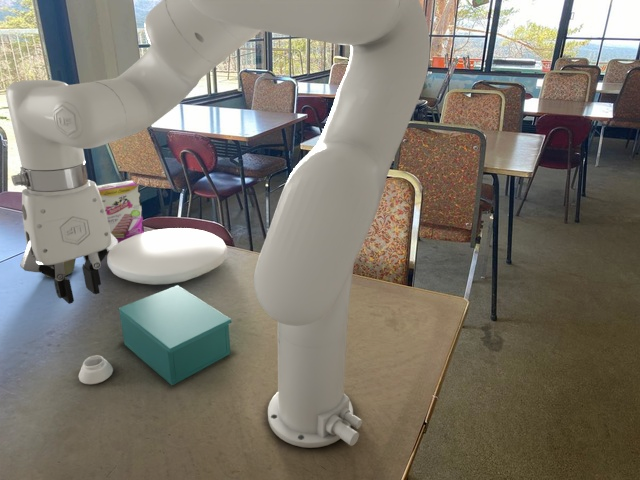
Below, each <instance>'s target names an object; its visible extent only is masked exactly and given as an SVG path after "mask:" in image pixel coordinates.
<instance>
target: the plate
mask: <svg viewBox="0 0 640 480" xmlns="http://www.w3.org/2000/svg"><path fill="white" fill-rule="evenodd" d="M227 255H228V247H227V244H226V243H225V241H224V240H223V239H222V238H221V237H219V236H218V235H215V234H214V233H212V232H208V231H205V230H201V229H197V228H196V229H195V228H187V227H186V228H185V227H184V228H182V227H180V228H179V227H177V228H176V227H175V228H173V227H172V228H162V229H161V228H160V229H155V230H149V231H144V233H141V234H137V235H134V236H132V237H130V238H127V239H125V240H123V241H121V242H119V243H118V244H117V245H115V246H114V247H113V248H112V249H111V250H110V251H109V252H108V253H107V254H106V261H107V263H106V264H107V266H108V268H109V270H110V271H111V272H112V274H113V275H114V276H117V277H118V278H120V279H123V280H126V281H129V282H133V283H136V284H137V283H138V284H144V285H155V286H156V285H170V284H177V283H178V284H179V283H184V282H187V281H189V280H193V279H194V278H197V277H200V276H202V275H205V274H207V273H209V272H211V271H213V270H215V269H216V268H218V267H219V266H221V265H222V264H223V263H224V262H225V260H226V258H227Z"/></svg>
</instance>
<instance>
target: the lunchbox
mask: <svg viewBox="0 0 640 480" xmlns="http://www.w3.org/2000/svg"><path fill="white" fill-rule="evenodd" d="M118 312H119V311H118ZM119 318H120V324H121V331H122V337H123V342H124V345H125V346H126V347H127V348H128V350H130V351H132V352H133V353H134V354H135V355H136V356H137V357H138V358H139V359H141V360H142V361H143V362H144V363H145V364H146V365H147V366H149V367H150V368H151V369H152V370H153V371H155V373H156V374H157V375H159V376H160V377H161V378H163V379H164V380H165V381H166V382H167V383H168V384H169V385H170V386H174V385H176V384H177V383H180V382H182V381H184V380H185V379H187V378H189V377H191V376H192V375H193V376H194V374H196V373H198V372H200V371H202V370H203V369H206V368H207V367H209V366H211V365H212V364H214V363H215V364H216V362H218V361H220V360H222V359H224V358H226V357H227V356H229V355H231V342H230V339H231V338H230V324H228V325H226V326H224V327H222V328H220V329H218V330H216V331H214V332H212V333H210V334H208V335H206V336H204V337H202V338H200V339H198V340H196V341H194V342H192V343H190V344H187V345H185V346H183V347H181V348H179V349H177V350H175V351H173V352H171V353H170V352H169V351H168V350H166V349H165V348H164V347H163V346H161V345H160V344H159V343H158V342H156V341H155V340H154V339H153V338H151V337H150V336H149V335H148V334H146V333H145V332H144V331H143V330H141V329H140V328H139V327H138V326H136V325H135V324H134V323H133V322H131V321H130V320H129V319H128V318H126V317H125V316H124V315H123V314H121V313H120V312H119Z"/></svg>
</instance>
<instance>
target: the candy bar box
mask: <svg viewBox="0 0 640 480" xmlns="http://www.w3.org/2000/svg"><path fill="white" fill-rule="evenodd" d="M97 188H98V190H99V193H100V196H101V199H102V202H103V205H104V208H105V212H106V215H107V219H108V223H109V227H110V232H111V233H112V234H113V236H114V237H115V238H116V239H117V240H118V243H119V242H121V241H123V240H125V239H127V238H130V237H132V236H134V235H137V234H141V233H144V232H145V226H144V217H143V209H142V208H143V207H142V201H141V191H140V185H139V184H138V183H137V182H135V181H134V180H126V181H125V180H124V181H119V182H111V183H105V184H97ZM118 243H117V244H118ZM108 253H109V251H108V252H107V254H108Z"/></svg>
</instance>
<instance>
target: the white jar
mask: <svg viewBox="0 0 640 480" xmlns="http://www.w3.org/2000/svg"><path fill="white" fill-rule="evenodd" d="M113 372H114V368H113V365H112V364H111V363H110V362H109V361H108V360H107V359H105V358H104V356H102V355H97V354H95V355H91V356H89V357H87V358H86V359H84V361H83V362H82V365H81V368H80V370H79V373H78V379H79V382H81V383H82V384H85V385H97V384H99V383H102V382H104V381H106V380H107V379H109V378H110V377H111V376H112V375H113Z"/></svg>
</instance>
